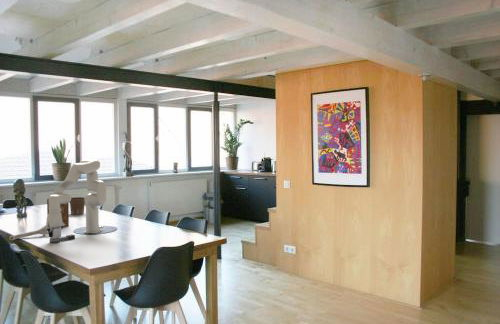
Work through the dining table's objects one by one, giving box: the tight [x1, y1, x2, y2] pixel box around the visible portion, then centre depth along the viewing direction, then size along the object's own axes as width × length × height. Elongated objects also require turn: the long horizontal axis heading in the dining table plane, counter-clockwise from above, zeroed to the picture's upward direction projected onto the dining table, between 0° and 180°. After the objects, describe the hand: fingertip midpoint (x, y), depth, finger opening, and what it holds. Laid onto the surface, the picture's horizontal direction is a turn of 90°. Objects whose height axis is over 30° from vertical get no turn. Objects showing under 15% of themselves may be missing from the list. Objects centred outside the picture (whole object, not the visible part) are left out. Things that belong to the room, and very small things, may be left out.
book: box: [46, 198, 70, 228], centre depth 359 cm, size 16×6×25 cm, turn 129°
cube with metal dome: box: [49, 227, 62, 239], centre depth 306 cm, size 6×6×8 cm
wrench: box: [9, 224, 49, 241], centre depth 321 cm, size 8×2×30 cm
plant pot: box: [69, 196, 86, 216], centre depth 425 cm, size 16×16×16 cm
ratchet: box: [49, 234, 76, 244], centre depth 311 cm, size 18×7×8 cm, turn 147°
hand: (54, 235), depth 306 cm, fingers closed on cube with metal dome, 6 cm apart
